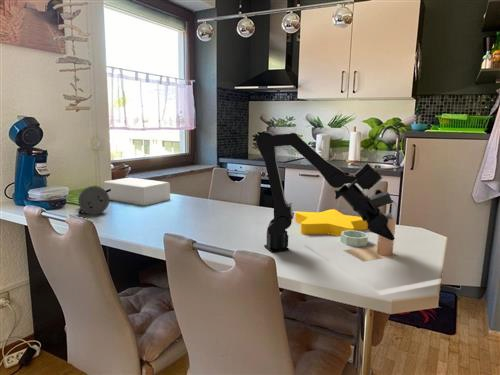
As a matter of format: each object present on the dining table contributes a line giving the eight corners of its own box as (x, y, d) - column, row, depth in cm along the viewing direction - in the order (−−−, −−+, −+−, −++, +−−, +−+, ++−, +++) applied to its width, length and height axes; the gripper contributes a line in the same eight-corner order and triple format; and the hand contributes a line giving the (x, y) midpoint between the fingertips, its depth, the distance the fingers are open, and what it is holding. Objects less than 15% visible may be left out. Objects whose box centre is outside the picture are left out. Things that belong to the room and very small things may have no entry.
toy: (123, 204, 157) (113, 195, 183) (105, 179, 153) (98, 174, 179) (87, 227, 151) (82, 215, 177) (68, 203, 147) (66, 194, 173)
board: (362, 264, 109) (363, 261, 109) (342, 253, 118) (343, 250, 118) (398, 258, 114) (398, 255, 114) (376, 248, 124) (377, 245, 123)
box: (144, 206, 180) (143, 187, 178) (104, 199, 195) (103, 181, 193) (170, 199, 196) (169, 182, 195) (131, 193, 211) (130, 177, 209)
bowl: (351, 250, 121) (352, 239, 121) (335, 241, 130) (336, 231, 129) (372, 247, 125) (373, 236, 124) (356, 239, 133) (356, 229, 132)
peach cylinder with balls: (384, 257, 113) (387, 216, 110) (373, 251, 117) (376, 212, 115) (395, 255, 115) (399, 214, 112) (385, 250, 119) (388, 211, 117)
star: (345, 208, 164) (385, 225, 137) (344, 218, 165) (384, 237, 138) (284, 212, 156) (314, 231, 128) (283, 221, 157) (313, 243, 129)
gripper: (382, 187, 103) (419, 227, 104) (371, 178, 122) (403, 211, 122) (352, 212, 106) (388, 251, 106) (346, 200, 124) (377, 232, 124)
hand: (390, 235), depth 115 cm, fingers open, 9 cm apart
